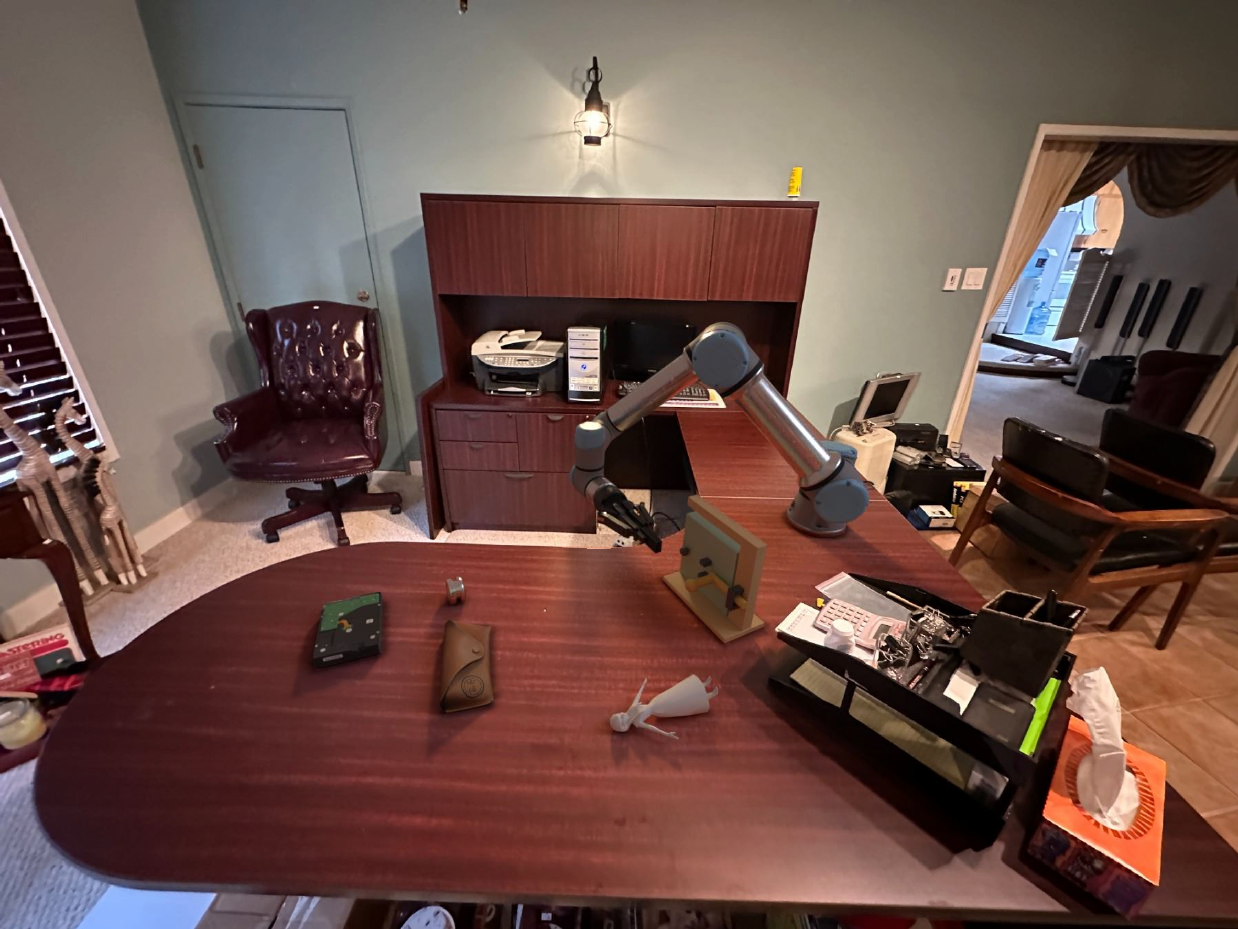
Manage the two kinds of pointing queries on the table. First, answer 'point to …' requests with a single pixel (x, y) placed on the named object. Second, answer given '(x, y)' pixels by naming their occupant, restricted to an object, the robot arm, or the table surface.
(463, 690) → the sunglasses case
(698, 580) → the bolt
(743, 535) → the door
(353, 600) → the disk drive
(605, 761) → the table surface
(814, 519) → the robot arm
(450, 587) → the grooved metal pulley
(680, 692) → the woman figurine
